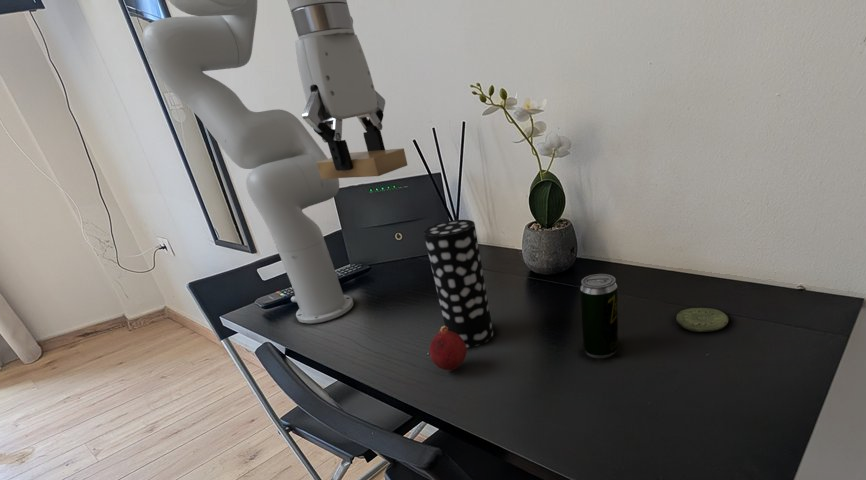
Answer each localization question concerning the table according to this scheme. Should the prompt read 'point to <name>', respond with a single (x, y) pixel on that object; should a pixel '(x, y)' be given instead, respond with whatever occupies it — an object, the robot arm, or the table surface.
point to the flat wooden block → (366, 164)
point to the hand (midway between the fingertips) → (362, 163)
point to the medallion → (702, 319)
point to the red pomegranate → (447, 349)
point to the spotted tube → (460, 280)
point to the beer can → (599, 315)
